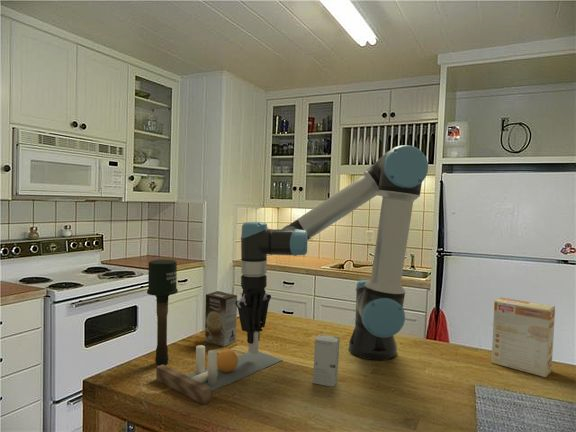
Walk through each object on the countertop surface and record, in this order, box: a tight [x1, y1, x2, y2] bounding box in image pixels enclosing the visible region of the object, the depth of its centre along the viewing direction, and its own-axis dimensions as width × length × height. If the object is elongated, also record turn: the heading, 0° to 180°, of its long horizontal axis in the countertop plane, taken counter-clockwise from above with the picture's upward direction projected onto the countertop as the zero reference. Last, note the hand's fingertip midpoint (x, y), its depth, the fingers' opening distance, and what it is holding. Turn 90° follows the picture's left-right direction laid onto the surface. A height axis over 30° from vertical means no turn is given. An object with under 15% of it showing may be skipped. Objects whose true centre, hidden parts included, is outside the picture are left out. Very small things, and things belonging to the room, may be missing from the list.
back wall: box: [155, 365, 212, 406], centre depth 109 cm, size 20×2×4 cm, turn 50°
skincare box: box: [312, 334, 341, 388], centre depth 115 cm, size 6×4×12 cm
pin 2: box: [207, 349, 218, 385], centre depth 113 cm, size 2×2×8 cm
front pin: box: [191, 371, 218, 383], centre depth 114 cm, size 2×2×8 cm
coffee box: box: [204, 290, 238, 347], centre depth 144 cm, size 9×6×16 cm
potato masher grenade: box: [146, 259, 179, 366], centre depth 124 cm, size 8×9×30 cm
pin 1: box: [195, 344, 206, 375], centre depth 116 cm, size 2×2×8 cm
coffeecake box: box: [491, 297, 556, 378], centre depth 129 cm, size 15×7×20 cm, turn 47°
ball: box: [217, 349, 238, 372], centre depth 120 cm, size 6×6×6 cm
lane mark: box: [186, 350, 283, 392], centre depth 122 cm, size 12×29×1 cm, turn 140°
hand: (253, 352), depth 128 cm, fingers closed
